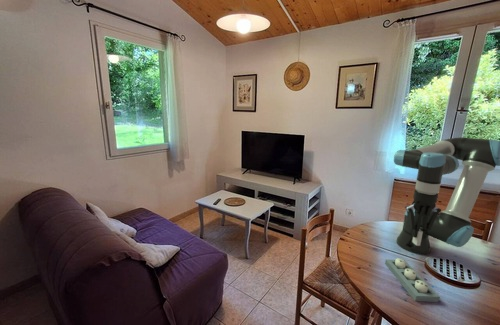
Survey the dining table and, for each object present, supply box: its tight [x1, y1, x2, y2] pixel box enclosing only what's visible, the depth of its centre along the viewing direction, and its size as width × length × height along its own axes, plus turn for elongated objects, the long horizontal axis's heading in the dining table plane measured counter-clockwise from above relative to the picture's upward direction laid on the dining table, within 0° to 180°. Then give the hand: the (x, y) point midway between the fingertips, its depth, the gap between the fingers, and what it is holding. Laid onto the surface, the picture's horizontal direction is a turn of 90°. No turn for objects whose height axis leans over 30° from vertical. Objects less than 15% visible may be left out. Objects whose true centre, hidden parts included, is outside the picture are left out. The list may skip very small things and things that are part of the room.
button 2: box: [404, 268, 418, 280], centre depth 98 cm, size 4×4×3 cm
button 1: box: [394, 257, 407, 269], centre depth 105 cm, size 4×4×3 cm
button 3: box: [414, 280, 429, 293], centre depth 91 cm, size 4×4×3 cm
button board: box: [384, 258, 441, 303], centre depth 98 cm, size 9×22×2 cm, turn 177°
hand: (416, 243), depth 94 cm, fingers closed
